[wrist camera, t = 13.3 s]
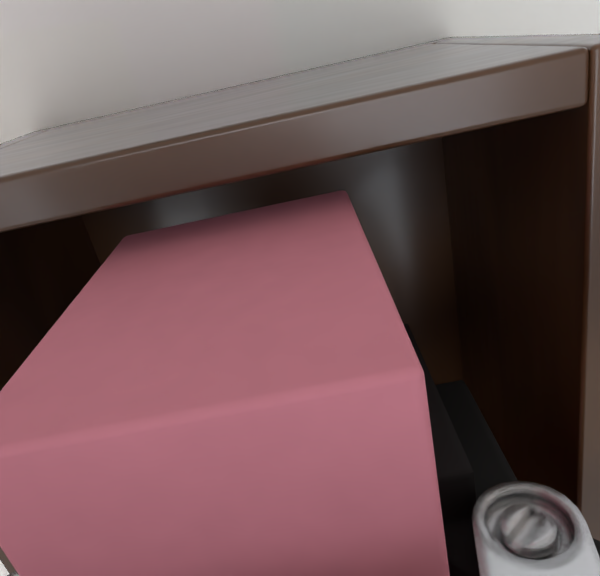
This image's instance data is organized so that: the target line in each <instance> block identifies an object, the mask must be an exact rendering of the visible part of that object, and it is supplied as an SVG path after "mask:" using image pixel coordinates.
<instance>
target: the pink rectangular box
mask: <svg viewBox="0 0 600 576" xmlns="http://www.w3.org/2000/svg"><path fill="white" fill-rule="evenodd" d="M0 547H1V549H2V550H3V552H4V553H5V555H6V556H7V558H8V559H9V561H10V562H11V564H12V565H13V567H14V568H15V570H16V571H17V573H18V574H19V576H450V573H449V565H448V557H447V549H446V541H445V533H444V526H443V518H442V510H441V502H440V494H439V486H438V478H437V470H436V462H435V455H434V447H433V439H432V431H431V423H430V415H429V407H428V399H427V391H426V384H425V376H424V371H423V369H422V366H421V364H420V362H419V359H418V357H417V355H416V352H415V350H414V348H413V345H412V343H411V341H410V338H409V336H408V334H407V331H406V329H405V327H404V324H403V322H402V320H401V317H400V315H399V313H398V310H397V308H396V306H395V303H394V301H393V299H392V296H391V294H390V292H389V289H388V287H387V285H386V282H385V280H384V278H383V275H382V273H381V271H380V268H379V266H378V264H377V261H376V259H375V257H374V254H373V252H372V250H371V247H370V245H369V243H368V240H367V238H366V236H365V233H364V231H363V229H362V226H361V224H360V222H359V219H358V217H357V215H356V213H355V210H354V208H353V206H352V203H351V201H350V199H349V196H348V194H347V192H346V191H343V190H340V191H335V192H331V193H326V194H321V195H317V196H312V197H307V198H302V199H298V200H293V201H288V202H284V203H279V204H274V205H269V206H265V207H260V208H255V209H251V210H246V211H241V212H236V213H232V214H227V215H222V216H218V217H213V218H208V219H203V220H199V221H194V222H189V223H184V224H180V225H175V226H170V227H166V228H161V229H156V230H151V231H147V232H142V233H137V234H133V235H128V236H125V237H124V238H123V239H122V240H121V242H120V243H119V244H118V245H117V247H116V248H115V249H114V250H113V252H112V253H111V254H110V255H109V257H108V258H107V259H106V260H105V262H104V263H103V264H102V265H101V267H100V268H99V269H98V270H97V272H96V273H95V274H94V275H93V276H92V278H91V279H90V280H89V281H88V283H87V284H86V285H85V286H84V288H83V289H82V290H81V291H80V293H79V294H78V295H77V296H76V298H75V299H74V300H73V301H72V303H71V304H70V305H69V306H68V308H67V309H66V310H65V311H64V313H63V314H62V315H61V316H60V318H59V319H58V320H57V321H56V323H55V324H54V325H53V326H52V327H51V329H50V330H49V331H48V332H47V334H46V335H45V336H44V337H43V339H42V340H41V341H40V342H39V344H38V345H37V346H36V347H35V349H34V350H33V351H32V352H31V354H30V355H29V356H28V357H27V359H26V360H25V361H24V362H23V364H22V365H21V366H20V367H19V369H18V370H17V371H16V372H15V374H14V375H13V376H12V377H11V379H10V380H9V381H8V382H7V383H6V385H5V386H4V387H3V388H2V390H1V391H0Z"/></svg>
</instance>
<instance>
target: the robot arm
mask: <svg viewBox="0 0 600 576" xmlns="http://www.w3.org/2000/svg"><path fill="white" fill-rule="evenodd" d="M404 327H405V329H406V331H407V334H408V336H409V338H410V341H411V343H412V345H413V348H414V350H415V352H416V355H417V357H418V359H419V362H420V364H421V366H422V369H423V371H424V376H425V384H426V391H427V399H428V407H429V415H430V423H431V431H432V439H433V447H434V455H435V462H436V470H437V478H438V486H439V494H440V502H441V510H442V518H443V526H444V533H445V541H446V549H447V557H448V565H449V573H450V576H600V541H598V540H596V539H594V538H592V536H591V533H590V531H589V528H588V525H587V523H586V521H585V519H584V517H583V515H582V514H581V512H580V510H579V509H578V507H577V506H576V505H575V504H573V503H572V502H571V501H570V500H569V499H568V498H567V497H566V496H565V495H563V494H561V493H559V492H558V491H556V490H554V489H552V488H551V487H548V486H545V485H541V484H538V483H535V482H527V481H518V480H517V478H516V476H515V475H514V473H513V471H512V469H511V467H510V465H509V463H508V462H507V460H506V458H505V456H504V454H503V452H502V450H501V448H500V447H499V445H498V443H497V441H496V439H495V437H494V435H493V433H492V432H491V430H490V428H489V426H488V424H487V422H486V420H485V418H484V417H483V415H482V413H481V411H480V409H479V407H478V405H477V404H476V402H475V400H474V398H473V396H472V394H471V392H470V390H469V389H468V387H467V385H466V384H465V382H464V381H462V380H459V381H453V382H448V383H443V384H437V385H435V384H434V381H433V379H432V377H431V375H430V372H429V370H428V368H427V366H426V363H425V361H424V359H423V356H422V354H421V352H420V350H419V347H418V345H417V343H416V341H415V338H414V336H413V334H412V332H411V329H410V327H409V325H408V324H404ZM8 576H19V574H18V573H17V571H15V572H13V573H11V574H9V575H8Z"/></svg>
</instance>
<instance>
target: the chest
mask: <svg viewBox="0 0 600 576" xmlns="http://www.w3.org/2000/svg"><path fill="white" fill-rule="evenodd" d="M340 190H343V191H346V192H347V194H348V196H349V199H350V201H351V203H352V206H353V208H354V210H355V213H356V215H357V217H358V219H359V222H360V224H361V226H362V229H363V231H364V233H365V236H366V238H367V240H368V243H369V245H370V247H371V250H372V252H373V254H374V257H375V259H376V261H377V264H378V266H379V268H380V271H381V273H382V275H383V278H384V280H385V282H386V285H387V287H388V289H389V292H390V294H391V296H392V299H393V301H394V303H395V306H396V308H397V310H398V313H399V315H400V317H401V320H402V322H403V324H408V325H409V327H410V329H411V332H412V334H413V336H414V338H415V341H416V343H417V345H418V347H419V350H420V352H421V354H422V356H423V359H424V361H425V363H426V366H427V368H428V370H429V372H430V375H431V377H432V379H433V381H434V384H435V385H437V384H443V383H448V382H453V381H459V380H462V381H464V382H465V384H466V385H467V387H468V389H469V390H470V392H471V394H472V396H473V398H474V400H475V402H476V404H477V405H478V407H479V409H480V411H481V413H482V415H483V417H484V418H485V420H486V422H487V424H488V426H489V428H490V430H491V432H492V433H493V435H494V437H495V439H496V441H497V443H498V445H499V447H500V448H501V450H502V452H503V454H504V456H505V458H506V460H507V462H508V463H509V465H510V467H511V469H512V471H513V473H514V475H515V476H516V478H517V480H518V481H527V482H535V483H538V484H541V485H545V486H548V487H551V488H552V489H554V490H556V491H558V492H559V493H561V494H563V495H565V496H566V497H567V498H568V499H569V500H570V501H571V502H572V503H573V504H575V505H576V506H577V507H578V509H579V510H580V512H581V514H582V515H583V517H584V519H585V521H586V523H587V525H588V528H589V531H590V533H591V536H592V538H594V539H596V540H598V541H600V34H574V35H528V36H481V37H450V38H445V39H441V40H437V41H432V42H428V43H423V44H419V45H415V46H410V47H406V48H401V49H397V50H393V51H388V52H384V53H379V54H375V55H370V56H366V57H362V58H357V59H353V60H348V61H344V62H340V63H335V64H331V65H326V66H322V67H318V68H313V69H309V70H304V71H300V72H296V73H291V74H287V75H282V76H278V77H273V78H269V79H265V80H260V81H256V82H251V83H247V84H243V85H238V86H234V87H229V88H225V89H221V90H216V91H212V92H207V93H203V94H199V95H194V96H190V97H185V98H181V99H177V100H172V101H168V102H163V103H159V104H154V105H150V106H146V107H141V108H137V109H132V110H128V111H124V112H119V113H115V114H110V115H106V116H102V117H97V118H93V119H88V120H84V121H80V122H75V123H71V124H66V125H62V126H57V127H53V128H49V129H44V130H40V131H35V132H32V133H29V134H27V135H24V136H21V137H18V138H16V139H13V140H10V141H7V142H5V143H2V144H0V391H1V390H2V388H3V387H4V386H5V385H6V383H7V382H8V381H9V380H10V379H11V377H12V376H13V375H14V374H15V372H16V371H17V370H18V369H19V367H20V366H21V365H22V364H23V362H24V361H25V360H26V359H27V357H28V356H29V355H30V354H31V352H32V351H33V350H34V349H35V347H36V346H37V345H38V344H39V342H40V341H41V340H42V339H43V337H44V336H45V335H46V334H47V332H48V331H49V330H50V329H51V327H52V326H53V325H54V324H55V323H56V321H57V320H58V319H59V318H60V316H61V315H62V314H63V313H64V311H65V310H66V309H67V308H68V306H69V305H70V304H71V303H72V301H73V300H74V299H75V298H76V296H77V295H78V294H79V293H80V291H81V290H82V289H83V288H84V286H85V285H86V284H87V283H88V281H89V280H90V279H91V278H92V276H93V275H94V274H95V273H96V272H97V270H98V269H99V268H100V267H101V265H102V264H103V263H104V262H105V260H106V259H107V258H108V257H109V255H110V254H111V253H112V252H113V250H114V249H115V248H116V247H117V245H118V244H119V243H120V242H121V240H122V239H123V238H124V237H125V236H128V235H133V234H137V233H142V232H147V231H151V230H156V229H161V228H166V227H170V226H175V225H180V224H184V223H189V222H194V221H199V220H203V219H208V218H213V217H218V216H222V215H227V214H232V213H236V212H241V211H246V210H251V209H255V208H260V207H265V206H269V205H274V204H279V203H284V202H288V201H293V200H298V199H302V198H307V197H312V196H317V195H321V194H326V193H331V192H335V191H340ZM0 560H1V561H2V563H3V564H4V566H5V567H6V569H7V570H8V572H9V573H10V574H11V573H13V572H15V571H16V570H15V568H14V567H13V565H12V564H11V562H10V561H9V559H8V558H7V556H6V555H5V553H4V552H3V550H2V549H1V547H0Z"/></svg>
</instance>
